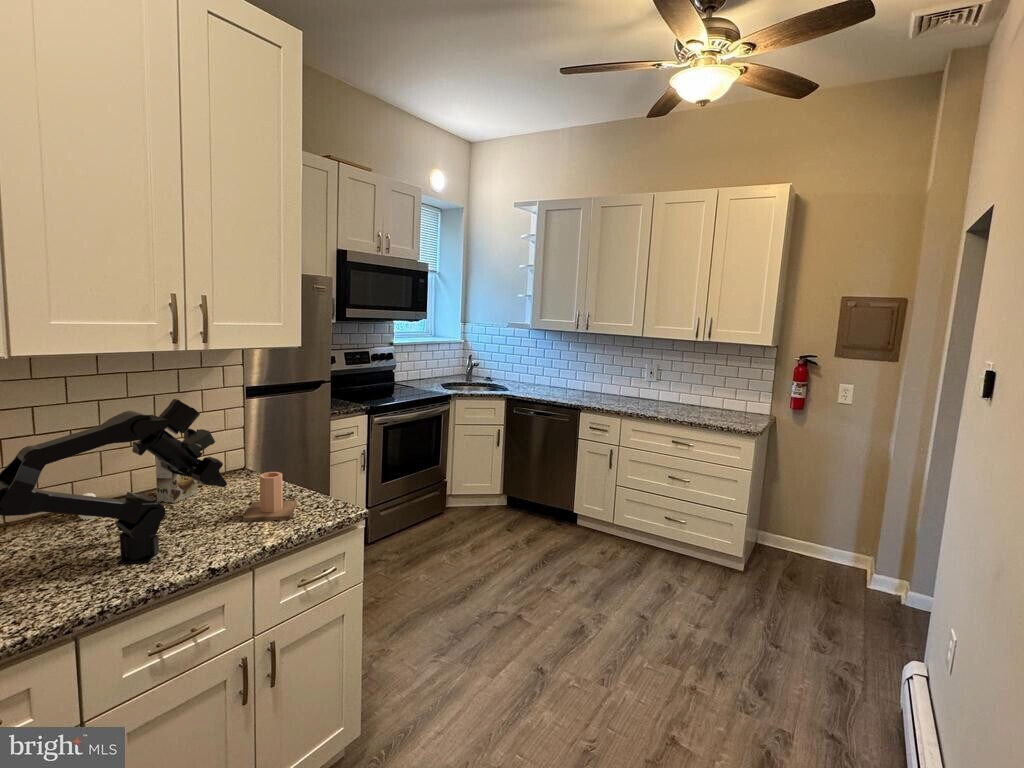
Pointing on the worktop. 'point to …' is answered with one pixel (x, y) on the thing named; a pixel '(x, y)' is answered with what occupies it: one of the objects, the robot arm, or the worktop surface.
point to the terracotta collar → (271, 492)
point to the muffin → (87, 516)
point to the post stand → (258, 515)
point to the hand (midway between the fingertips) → (215, 481)
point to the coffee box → (173, 485)
